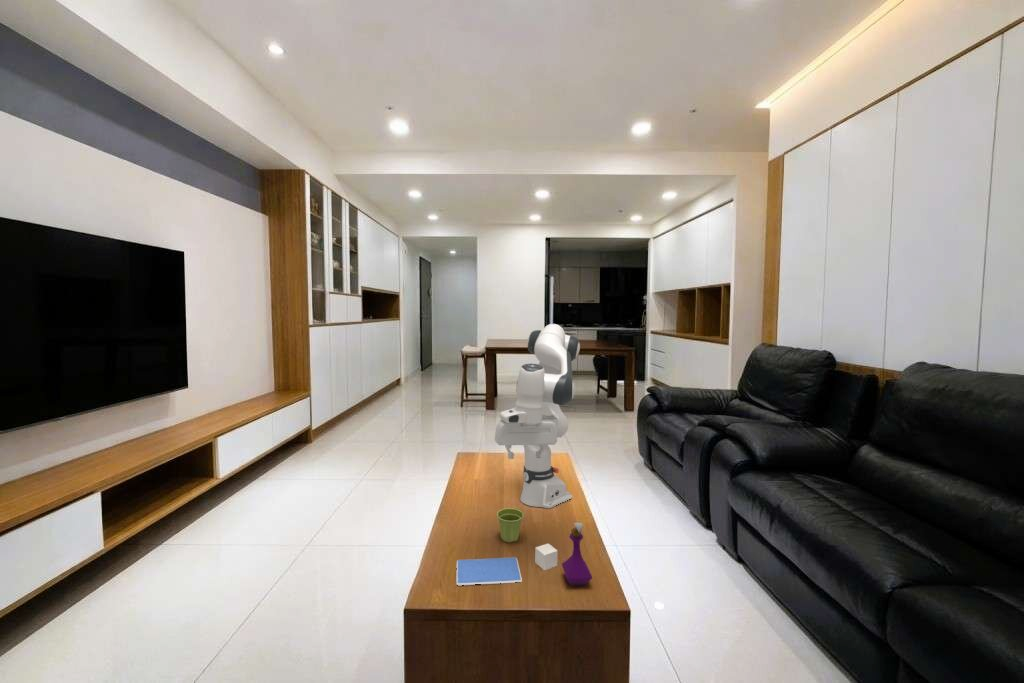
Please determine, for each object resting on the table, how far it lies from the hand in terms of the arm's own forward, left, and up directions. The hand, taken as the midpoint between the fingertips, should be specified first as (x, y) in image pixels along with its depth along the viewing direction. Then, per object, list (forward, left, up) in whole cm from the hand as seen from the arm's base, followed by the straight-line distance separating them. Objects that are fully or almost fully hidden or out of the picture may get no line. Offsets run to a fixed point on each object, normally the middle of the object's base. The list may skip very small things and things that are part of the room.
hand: (524, 458), depth 137 cm
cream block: (-4, +7, -33) cm, 34 cm away
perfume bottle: (-7, +18, -33) cm, 38 cm away
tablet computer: (+13, +1, -34) cm, 36 cm away
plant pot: (-2, -12, -33) cm, 35 cm away
